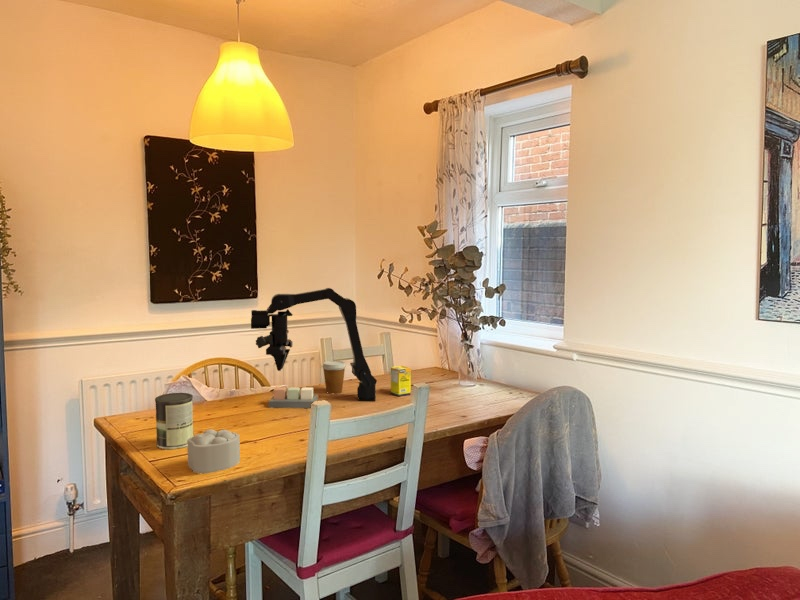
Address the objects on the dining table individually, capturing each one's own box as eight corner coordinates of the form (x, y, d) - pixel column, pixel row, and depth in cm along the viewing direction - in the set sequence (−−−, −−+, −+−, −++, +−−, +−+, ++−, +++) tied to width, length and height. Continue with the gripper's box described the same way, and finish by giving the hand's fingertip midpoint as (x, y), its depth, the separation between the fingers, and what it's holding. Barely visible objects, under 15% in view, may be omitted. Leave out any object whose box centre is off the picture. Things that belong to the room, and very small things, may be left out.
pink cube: (286, 397, 213) (286, 387, 213) (284, 400, 209) (284, 389, 209) (276, 397, 213) (276, 387, 213) (273, 400, 209) (273, 389, 209)
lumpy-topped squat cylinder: (185, 463, 152) (184, 432, 151) (232, 453, 160) (232, 423, 159) (196, 476, 144) (196, 442, 143) (246, 465, 151) (245, 433, 150)
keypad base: (317, 400, 216) (317, 394, 216) (313, 408, 206) (313, 401, 206) (274, 400, 216) (274, 394, 216) (268, 407, 206) (268, 401, 206)
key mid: (300, 397, 213) (299, 387, 213) (298, 400, 209) (298, 390, 209) (289, 397, 213) (289, 387, 213) (287, 400, 209) (287, 389, 209)
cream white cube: (313, 397, 213) (313, 387, 213) (311, 400, 209) (311, 390, 209) (302, 397, 213) (302, 387, 213) (300, 400, 209) (300, 390, 209)
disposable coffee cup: (348, 393, 228) (348, 364, 227) (325, 395, 224) (325, 365, 223) (342, 388, 237) (342, 360, 235) (320, 390, 233) (319, 361, 232)
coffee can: (149, 448, 163) (147, 400, 162) (167, 437, 173) (166, 392, 172) (183, 450, 162) (182, 402, 161) (199, 438, 172) (198, 393, 171)
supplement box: (411, 394, 227) (411, 367, 226) (398, 396, 223) (398, 369, 222) (402, 391, 232) (402, 365, 231) (390, 393, 228) (390, 366, 227)
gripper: (263, 324, 218) (264, 364, 219) (251, 331, 200) (251, 375, 201) (292, 324, 218) (292, 364, 220) (282, 331, 200) (283, 375, 201)
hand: (279, 369), depth 210 cm, fingers open, 3 cm apart
